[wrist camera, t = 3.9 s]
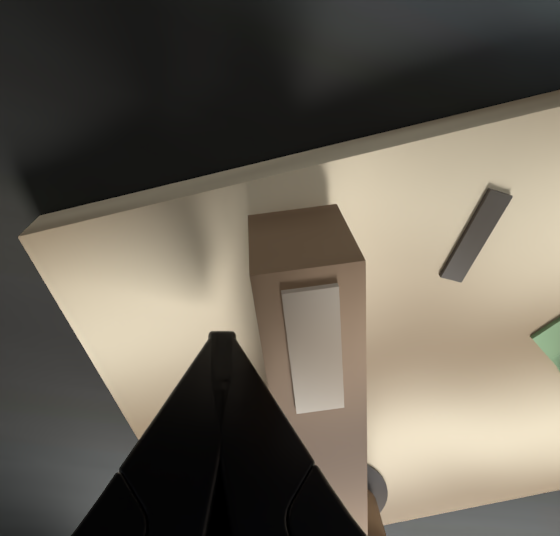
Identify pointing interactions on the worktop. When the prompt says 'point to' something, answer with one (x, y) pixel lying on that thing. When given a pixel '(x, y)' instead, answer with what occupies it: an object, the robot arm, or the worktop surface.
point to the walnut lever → (317, 341)
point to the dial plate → (379, 293)
